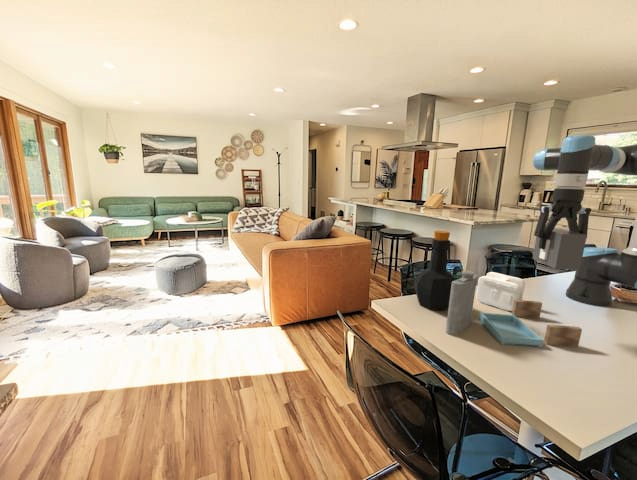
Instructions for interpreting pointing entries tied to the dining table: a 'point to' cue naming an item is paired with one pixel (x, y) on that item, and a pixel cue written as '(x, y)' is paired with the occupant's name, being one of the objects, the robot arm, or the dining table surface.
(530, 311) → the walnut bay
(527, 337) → the teal tray
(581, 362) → the dining table surface
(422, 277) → the bottle
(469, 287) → the hip flask
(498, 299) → the cable organizer
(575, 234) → the grey rectangular block
